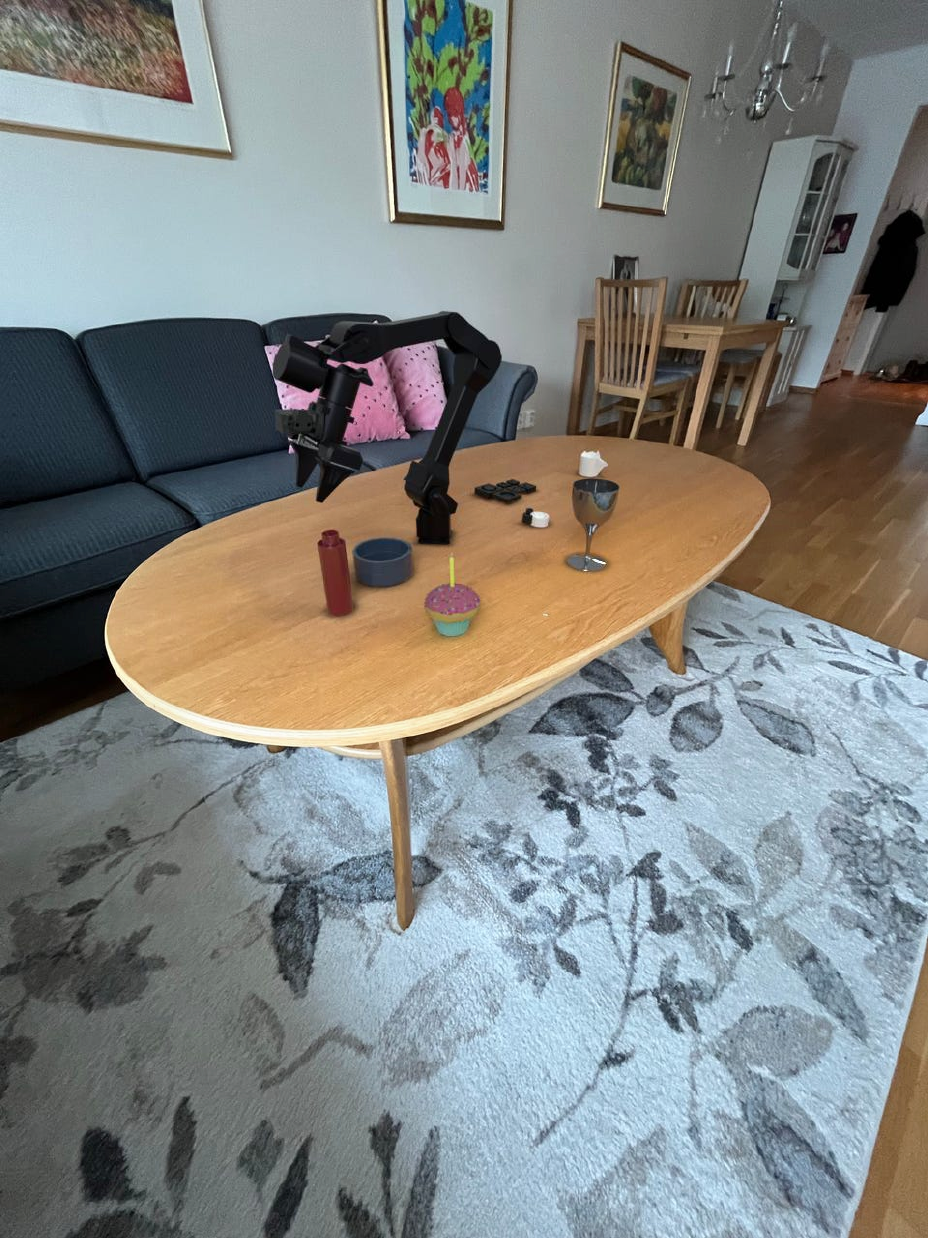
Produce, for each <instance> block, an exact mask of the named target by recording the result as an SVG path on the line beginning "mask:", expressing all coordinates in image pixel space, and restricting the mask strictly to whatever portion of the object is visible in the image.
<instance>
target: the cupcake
mask: <svg viewBox="0 0 928 1238" xmlns="http://www.w3.org/2000/svg"><path fill="white" fill-rule="evenodd" d="M448 559H449V583H445V584H441V585H438V586H436V587H435V588H433V589H431V590H430V591H429V592H428V593H427V594H426V596H425V598H424V612H425V614H426V615H427V616H428V617H429V618H430V619H431V620H432V621H433V623H434V625H435V627H436V630H437V632H438V633H439V634H441V635H442V636H446V637H458V636H462V635H463V634H465V633H466V632H467V631H468V628H469V625H470V623H471V621H472V619H474V618H475V617H476V616H477V615H478V614H479V611H480V610H481V606H482V604H481V601H482V600H481V597H480V596H479V594H478V593H477V591H476V590H474V589H473V588H472V587H469V586H468V585H465V584H461V583H456V582H455V558H454V557H453V552H452V551H451V552H450V557H449V558H448Z"/></svg>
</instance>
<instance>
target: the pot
mask: <svg viewBox="0 0 928 1238" xmlns="http://www.w3.org/2000/svg"><path fill="white" fill-rule="evenodd" d="M351 555H352V562H353V571H354V576H355V579H356V580H357V581H359V582H360V583H361V584H364V585H366V586H369V587H373V588H389V587H395V586H399V585H400V584H403V583H404V582H406V581H407V580H409V579H410V578H411V577H412V576H413V574H414V560H413V558H414V557H413V547H412V545H411V544H410V543H409V542H408V541H406V540H404V539H401V538H396V537H385V536H383V537H374V538H370V539H366V540H363V541H360V542H359V543H357V544H356V545H354V547H353V549H352V550H351Z"/></svg>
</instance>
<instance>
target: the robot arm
mask: <svg viewBox="0 0 928 1238" xmlns="http://www.w3.org/2000/svg"><path fill="white" fill-rule="evenodd" d="M440 340H442V341H443V342H444V344H445V346H446V347H447V349H448V351H450V352H451V353H452V354H453V355H454V356H455V357H454V361H453V364H452V370H453V383H452V387H451V390H450V392H449V395H448V396H447V400H446V402H445V405H444V407H443V410H442V413H441V415H440V418H439V420H438V423H437V425H436V428H435V430H434V433H433V436H432V438H431V440H430V443H429V446H428V448H427V451H426V454H425V455H424V456H423V457H422V459H420V460H419V462H417V461H415V460H411V462H410V464H409V467H408V471H407V474H406V475H405V477H404V478H403V481H405V483H404V486H403V487H404V489H403V490H404V491H405V495H406V496H407V498H408V499H410V500H411V501H412V503H413V506H414V507H417V508H418V511H417V512H418V514H417V515H416V518H415V531H416V538H418V539H417V543H418V544H428V545H429V544H430V545H432V544H433V545H450V544H451V540H452V536H453V530H452V515H456V512H457V509H458V506H459V502H457V501H456V500H455V499H454V498H453V497H452V496H451V495H449V494H448V490H449V487H450V484H451V482H450V481H451V480H450V465H451V462H452V459H453V457H454V454H455V452H456V450H457V447H458V445H459V442H460V439H461V438H462V435H463V432H464V430H465V427H466V425H467V422H468V421H469V418H470V415H471V413H472V410H473V407H474V404H475V403H476V400H477V397H478V395H479V394H480V393H481V392H482V390H484V388H486V387H487V386H488V385H489V384H490V383H491V382H492V380H493V379H494V377H495V375H496V373H497V371H498V370H499V369H500V366H501V363H502V359H503V355H502V352H501V348H500V346H499V344H498V343H497V342H496V341H494V340H492V339H489V338H488V337H487V336H486V335H485V334H484V333H482V332H481V331H480V330H479V329H477V328H476V327H475V326H473V325H472V324H471V323H469V322H468V321H467V320H466V318H465V317H464V316H463V315H461V313H459V312H457V311H448V310H442V311H441V310H440V311H439V312H437V313H433V314H427V315H421V316H415V317H410V318H405V319H399V320H393V321H388V322H366V321H365V322H364V321H347V320H346V321H345V320H344V321H343V320H342V321H340V322H337V323H335V324H334V325H333V327H332V330H331V331H330V334H329V335H328V336H327V337H326V338H325V339H323V340H322V341H320V342H319V343H318V344H316V345H315V346H313V345H311V344H309V343H307V342H304V341H303V340H302V339H301V338H299V337H298V336H295V335H293V334H290V333H289V334H288V333H287V334H286V335H285V340H284V341H283V342H282V344H281V345H280V347H279V348H278V351H277V353H275V354H274V357H273V362H272V363H273V364H272V377H273V378H274V380H276V381H279V382H280V383H284V384H286V385H288V386H291V387H294V388H296V389H299V390H301V391H303V392H306V393H309V394H312V393H314V392H315V391H316V390H319V392H318V396H317V398H316V401H313V400H311V402H309V404H308V407H307V409H304V408H301V409H299V408H298V409H297V408H293V409H292V408H291V409H275V410H274V420H275V431H276V432H279V433H281V435H282V436H285V437H286V438H288V439H287V443H288V444H289V445H290V447H291V448H292V450H293V451H294V455H295V456H294V457H295V486H296V487H297V488H303V487H304V486H305V484H306V483H307V482H308V480H309V478H310V477H311V476H312V474H313V473H314V471H315V469H316V467H317V465H318V466H319V469H320V471H319V477H318V483H317V487H316V495H315V501H316V503H319V504H320V503H321V504H322V503H324V502H325V501H326V500H327V498H328V497H330V496H331V494H332V493H333V492H334V491H335V490H336V489H337V488H338V487H339V486H340V485H341V484H342V483H343V482H345V480H346V479H347V478H348V477H349V476H350V475H352V474H353V475H354V474H355V473H356V471H360V470H361V468H362V465H363V462H364V458H363V456H362V454H361V452H360V451H358V450H356V449H354V448H353V447H350V446H347V445H348V442H347V441H346V440H344V438H345V436H346V432H347V429H348V425H349V424H351V425H353V424H354V423H355V419H356V417H354V416H351V415H352V412H353V408H354V406H355V402H356V399H357V395H358V392H359V389H360V385H361V384H362V385H365V386H368V387H373V386H374V382H373V380H372V378H371V376H370V373H369V370H368V368H367V367H363V366H361V367H359V368H357V369H356V368H354V367H353V366H350V365H348V364H346V363H349V362H350V363H354V364H357V365H366V364H369V363H371V362H373V361H377V360H378V359H380V358H382V357H384V356H386V354H388V353H389V352H391V351H393V350H395V349H396V350H397V349H401V348H406V347H410V346H411V347H412V346H415V345H421V344H425V343H430V342H437V341H440ZM328 361H332V362H336V363H339V364H338V365H337V366H334V365H331V364H329V363H328Z"/></svg>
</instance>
